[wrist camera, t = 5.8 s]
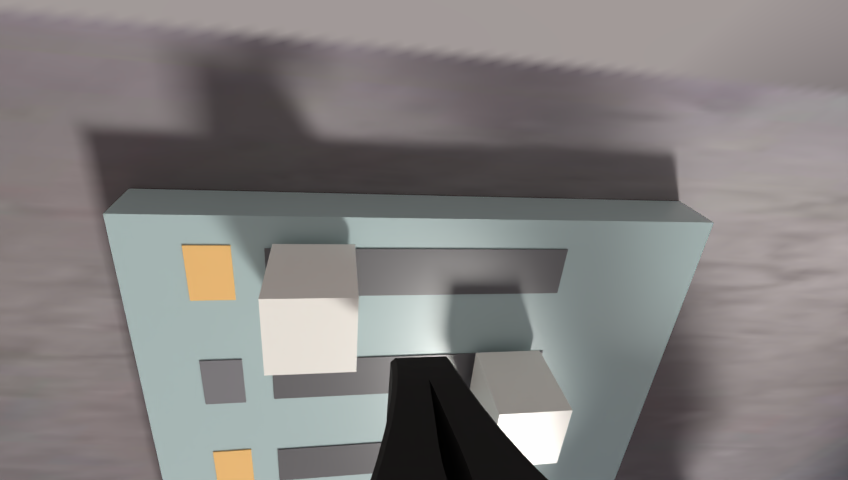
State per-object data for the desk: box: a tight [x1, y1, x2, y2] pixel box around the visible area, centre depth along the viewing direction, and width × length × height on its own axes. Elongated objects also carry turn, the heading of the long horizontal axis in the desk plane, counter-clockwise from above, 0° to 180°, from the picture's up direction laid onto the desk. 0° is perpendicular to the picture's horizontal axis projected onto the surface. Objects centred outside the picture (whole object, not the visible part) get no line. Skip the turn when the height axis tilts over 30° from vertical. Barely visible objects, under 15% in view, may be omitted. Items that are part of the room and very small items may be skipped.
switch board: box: [103, 189, 714, 480], centre depth 20 cm, size 20×16×2 cm
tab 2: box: [470, 350, 573, 465], centre depth 18 cm, size 2×2×3 cm
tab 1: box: [258, 244, 359, 376], centre depth 14 cm, size 2×2×3 cm
